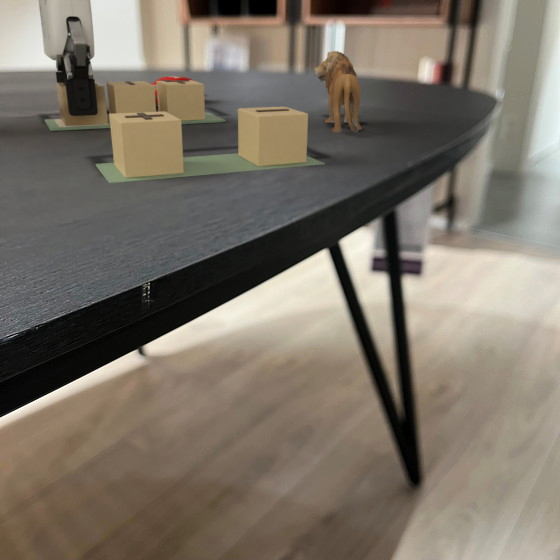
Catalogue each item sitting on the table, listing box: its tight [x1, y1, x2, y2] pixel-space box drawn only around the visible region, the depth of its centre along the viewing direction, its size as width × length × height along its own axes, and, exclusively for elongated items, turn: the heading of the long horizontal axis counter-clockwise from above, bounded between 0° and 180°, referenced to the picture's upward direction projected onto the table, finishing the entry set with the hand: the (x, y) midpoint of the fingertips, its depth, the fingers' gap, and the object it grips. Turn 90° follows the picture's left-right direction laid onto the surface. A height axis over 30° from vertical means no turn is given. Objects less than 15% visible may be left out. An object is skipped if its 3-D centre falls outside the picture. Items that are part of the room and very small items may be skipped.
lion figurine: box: [313, 50, 363, 134], centre depth 73 cm, size 15×5×9 cm, turn 10°
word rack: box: [44, 79, 226, 132], centre depth 74 cm, size 22×7×5 cm, turn 115°
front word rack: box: [95, 106, 326, 184], centre depth 52 cm, size 20×7×5 cm, turn 115°
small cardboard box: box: [55, 81, 108, 126], centre depth 71 cm, size 5×5×5 cm
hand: (77, 109), depth 71 cm, fingers open, 9 cm apart
